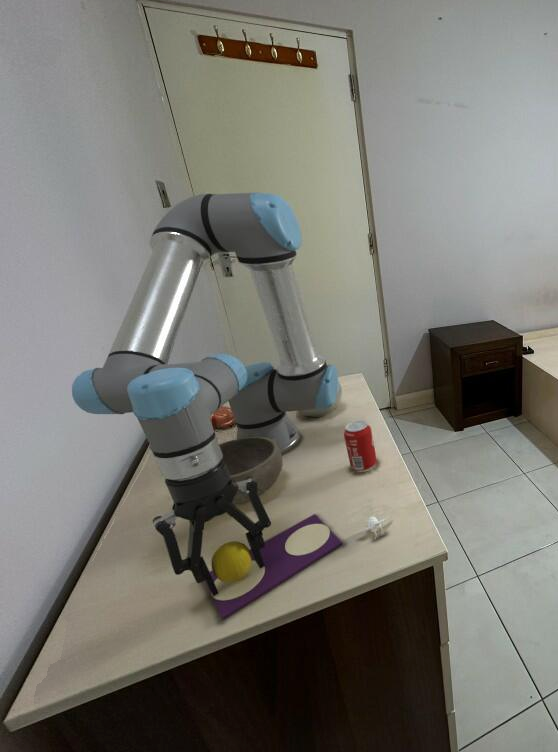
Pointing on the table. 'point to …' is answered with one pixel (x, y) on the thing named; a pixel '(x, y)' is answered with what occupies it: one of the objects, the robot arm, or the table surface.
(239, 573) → the lemon
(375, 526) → the white bird figurine
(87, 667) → the table surface
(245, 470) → the bowl
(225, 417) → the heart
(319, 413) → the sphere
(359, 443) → the beverage can
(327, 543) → the placemat
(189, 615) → the table surface
